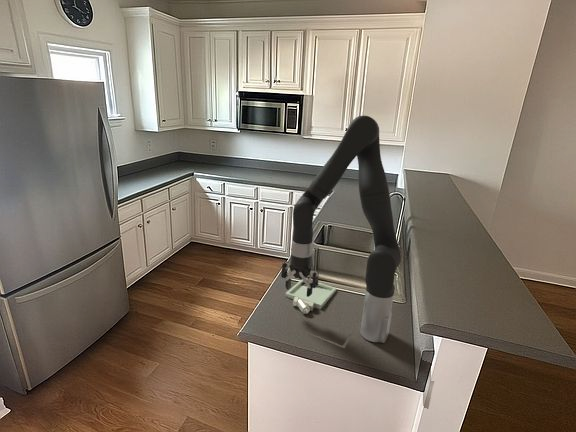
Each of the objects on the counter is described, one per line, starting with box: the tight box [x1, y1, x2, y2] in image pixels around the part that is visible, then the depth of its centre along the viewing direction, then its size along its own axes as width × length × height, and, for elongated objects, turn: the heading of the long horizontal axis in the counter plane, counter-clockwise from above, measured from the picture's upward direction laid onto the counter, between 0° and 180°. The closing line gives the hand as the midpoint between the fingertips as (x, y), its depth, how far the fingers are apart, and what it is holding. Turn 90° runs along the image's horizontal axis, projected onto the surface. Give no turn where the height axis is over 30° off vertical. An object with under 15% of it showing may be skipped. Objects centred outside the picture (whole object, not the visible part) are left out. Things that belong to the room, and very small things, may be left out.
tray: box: [285, 279, 337, 310], centre depth 142 cm, size 16×16×2 cm
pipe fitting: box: [292, 297, 315, 315], centre depth 131 cm, size 8×4×7 cm
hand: (298, 292), depth 126 cm, fingers open, 8 cm apart
